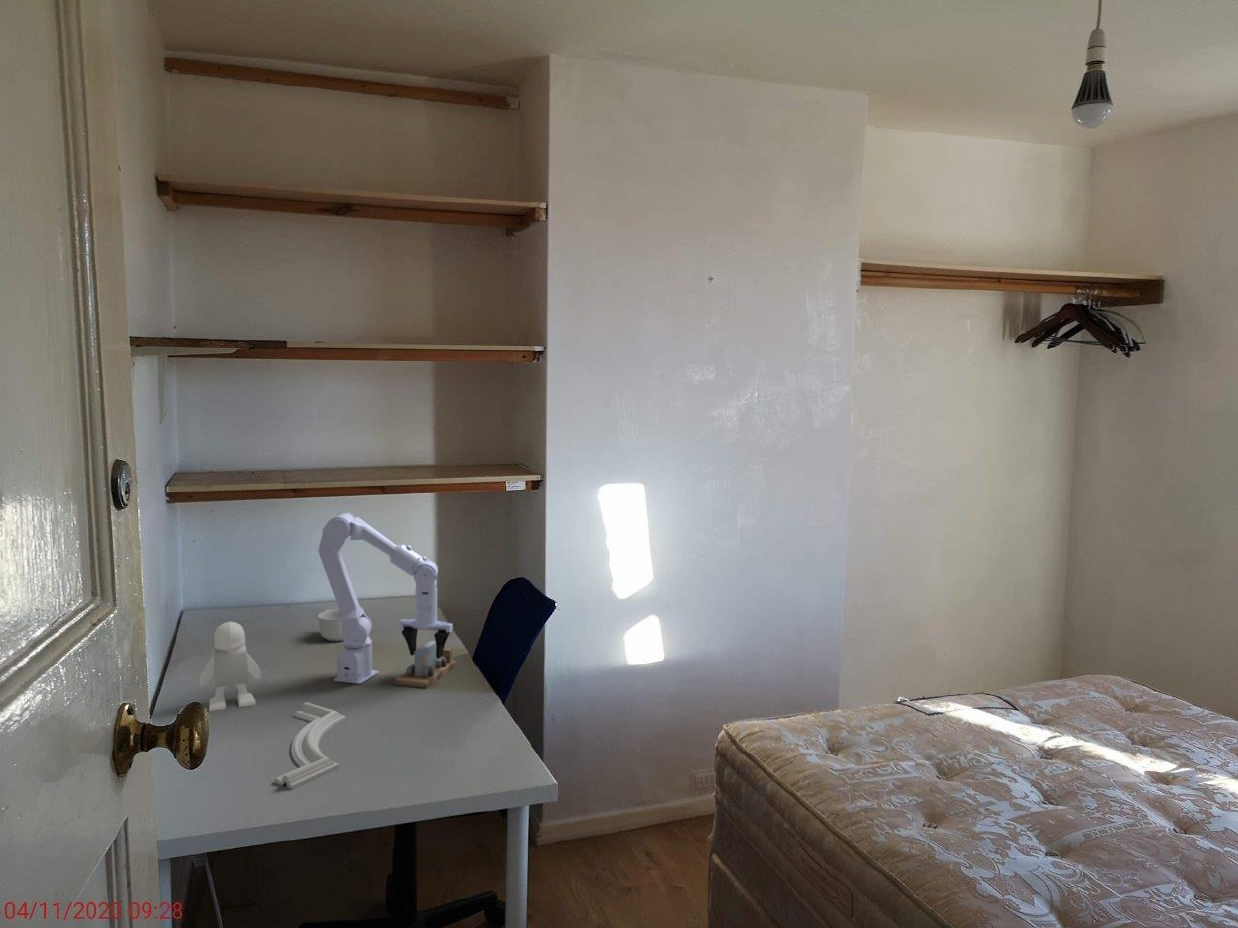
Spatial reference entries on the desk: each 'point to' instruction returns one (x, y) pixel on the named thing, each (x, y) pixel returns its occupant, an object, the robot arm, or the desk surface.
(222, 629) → the toy robot
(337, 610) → the teacup
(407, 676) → the knife switch board
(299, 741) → the molding
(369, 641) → the robot arm
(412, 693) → the desk surface
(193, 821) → the desk surface
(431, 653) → the rectangular block
